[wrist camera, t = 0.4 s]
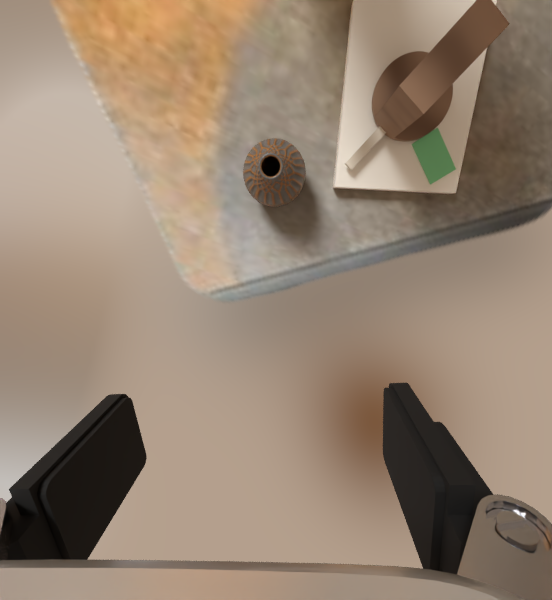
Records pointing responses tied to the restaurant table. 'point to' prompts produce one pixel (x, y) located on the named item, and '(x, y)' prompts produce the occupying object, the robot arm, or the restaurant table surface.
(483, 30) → the dial knob
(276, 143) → the vase
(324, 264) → the restaurant table surface
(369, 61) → the dial board
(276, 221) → the restaurant table surface
